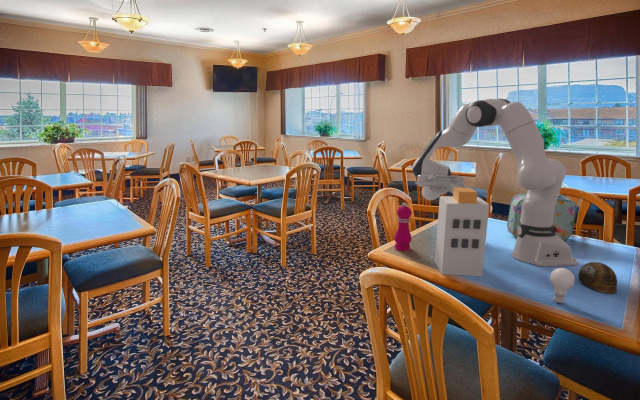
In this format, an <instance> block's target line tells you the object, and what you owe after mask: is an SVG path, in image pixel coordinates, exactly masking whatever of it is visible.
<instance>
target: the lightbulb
mask: <svg viewBox="0 0 640 400" xmlns="http://www.w3.org/2000/svg"><path fill="white" fill-rule="evenodd" d="M575 280H576V277H575V276H574V274H573V272H572V271H571V270H569V268H568V269H567V268H564V267H558V268H554V269H553V270H552V271H551V273H550V275H549V281H550V283H551V285H552V287H553V292H554V296H553V301H555V303H557V304H562V303H565V297H566V294H568V293H567V292H568V291H569V290H570V289H571V288H572V287H573V286H574V284H575Z"/></svg>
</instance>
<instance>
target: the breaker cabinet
mask: <svg viewBox="0 0 640 400" xmlns="http://www.w3.org/2000/svg"><path fill="white" fill-rule="evenodd" d="M438 203H439V205H438V216H437V218H438V219H437V231H436V244H435V245H436V246H435V259H434V263H435V264H436V266H437V269H438V270H439V272H440V274H441V275H445V274H449V275H450V276H472V277H474V276H476V277H482V276H483V272H484V271H483V270H484V264H485V263H484V262H485V261H484V260H485V253H486V250H485V249H486V243H487V242H486V241H487V232H488V231H487V230H488V224H489V223H488V221H489V214H490V213H489V212H490V204H489V203H488V202H487V201H485V200H484V199H482V198H481V197H479V196H477V201H476V204H475V203H458V202H456V201H455V200H454V199H453V195H451V196H449V195H448V196H447V195H445V196H444V195H442V196H441V195H440V196H439V202H438Z"/></svg>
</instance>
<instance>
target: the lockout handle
mask: <svg viewBox="0 0 640 400" xmlns="http://www.w3.org/2000/svg"><path fill="white" fill-rule="evenodd" d="M449 191H450V192H451V194H452V196H453V199H454V200H455V201H456V202H458V203H475V204H476V201H477V197H478V191H477V190H475V189H474V188H472V187H458V186H456V185H449Z"/></svg>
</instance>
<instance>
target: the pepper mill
mask: <svg viewBox="0 0 640 400" xmlns="http://www.w3.org/2000/svg"><path fill="white" fill-rule="evenodd" d="M401 205H402V206H399V207H398V208H397V210H396V215H397V222H398V226H397V230H396V231H395V234H394V237H393V240H394V242H395V244H394V248H395V250H397V251H400V252H402V251H403V252H408V251H410V249H411V245H410V244H411V242H412V235H411V232H410V229H409V223H410V222H411V220H410V219H411V218H410V217H411V216H412V209H411V208H410V207H409V206H407V205H408V204H407V203H406V202H403V203H402V204H401Z"/></svg>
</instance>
